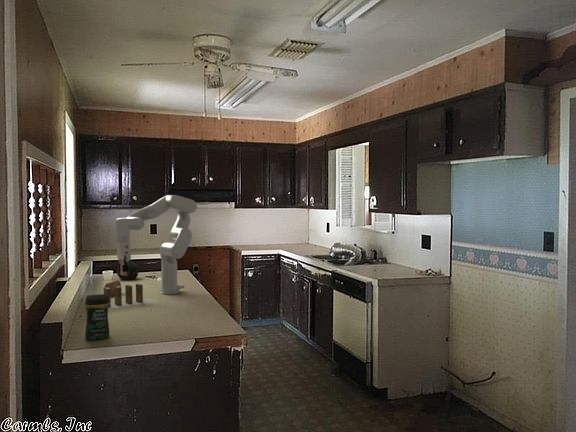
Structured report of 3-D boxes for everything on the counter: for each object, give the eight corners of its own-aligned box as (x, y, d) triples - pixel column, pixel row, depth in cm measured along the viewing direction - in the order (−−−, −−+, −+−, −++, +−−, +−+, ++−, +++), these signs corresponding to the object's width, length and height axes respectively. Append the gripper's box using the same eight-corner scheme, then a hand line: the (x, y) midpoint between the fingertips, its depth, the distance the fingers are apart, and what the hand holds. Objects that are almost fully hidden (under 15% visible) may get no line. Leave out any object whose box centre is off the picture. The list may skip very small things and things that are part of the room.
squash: (125, 269, 365) (119, 256, 355) (144, 270, 362) (137, 257, 352) (117, 284, 355) (110, 271, 345) (136, 286, 352) (130, 272, 342)
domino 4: (129, 302, 275) (128, 284, 274) (132, 303, 271) (132, 286, 270) (125, 302, 273) (125, 285, 273) (128, 304, 269) (128, 286, 269)
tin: (108, 297, 290) (107, 283, 289) (103, 297, 290) (103, 283, 290) (121, 293, 304) (121, 279, 304) (117, 292, 305) (116, 279, 305)
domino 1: (107, 305, 267) (107, 287, 267) (110, 307, 263) (110, 288, 263) (103, 305, 266) (103, 287, 265) (106, 307, 262) (106, 289, 261)
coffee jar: (86, 342, 202) (85, 297, 201) (84, 337, 209) (83, 294, 208) (111, 339, 206) (110, 295, 205) (108, 334, 213) (107, 292, 212)
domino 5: (139, 301, 278) (139, 283, 278) (142, 302, 275) (142, 284, 274) (135, 301, 277) (135, 283, 277) (139, 302, 273) (139, 285, 273)
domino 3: (123, 274, 284) (123, 257, 284) (126, 275, 280) (126, 257, 280) (120, 274, 283) (120, 257, 283) (123, 275, 279) (123, 258, 279)
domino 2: (118, 303, 271) (118, 286, 270) (121, 305, 267) (121, 287, 267) (114, 304, 270) (114, 286, 269) (118, 306, 266) (117, 287, 265)
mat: (150, 299, 286) (150, 298, 286) (158, 302, 277) (158, 301, 277) (94, 306, 266) (94, 305, 266) (101, 310, 257) (101, 309, 257)
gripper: (135, 240, 277) (135, 272, 277) (124, 238, 290) (124, 268, 291) (122, 240, 272) (122, 273, 273) (111, 238, 285) (111, 269, 286)
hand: (123, 270), depth 282 cm, fingers closed on domino 3, 4 cm apart
